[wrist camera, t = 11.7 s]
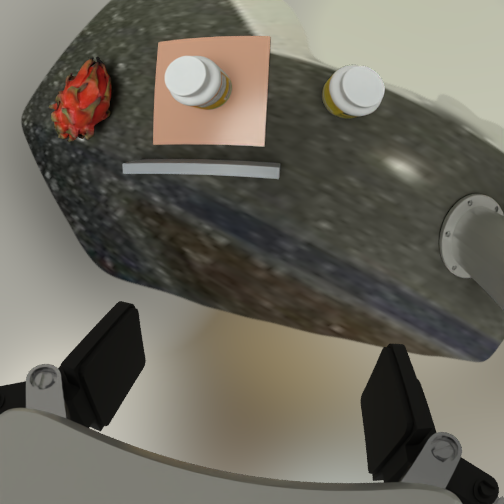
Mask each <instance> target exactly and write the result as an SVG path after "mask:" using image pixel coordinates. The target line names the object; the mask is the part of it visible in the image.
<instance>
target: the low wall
mask: <svg viewBox="0 0 504 504" xmlns="http://www.w3.org/2000/svg"><path fill="white" fill-rule="evenodd" d="M123 174H201V175H225V176H244V177H259V178H273V179H279V175H280V163H271V162H257V161H239V160H214V159H140V160H136V161H132V162H128V163H124V164H123Z"/></svg>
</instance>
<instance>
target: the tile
mask: <svg viewBox="0 0 504 504" xmlns="http://www.w3.org/2000/svg"><path fill="white" fill-rule="evenodd" d="M182 56H203V57H206V58H208V59H210V60H212V61H213V62H214V63H215V64H217V65H218V66H219V67H220V68H221V69H222V70H223V71H224V72H225V73H226V74H227V75H228V76H229V78H230V80H231V83H232V92H231V95H230V97H229V99H228V100H227V101H226V103H224V104H223V105H222V106H220V107H218V108H216V109H212V110H204V109H199V108H195V107H191V106H187V105H184V104H181V103H179V102H178V101H177V100H175V99H174V98H173V96H172V95H171V93H170V91H169V89H168V88H167V87H166V84H165V72H166V69H167V68H168V66H169V65H170V63H171V62H173V61H174V60H175V59H177V58H179V57H182ZM269 57H270V37H269V36H223V37H204V38H191V39H181V40H172V41H164V42H159V44H158V55H157V67H156V82H155V100H154V130H153V145H163V144H215V145H244V146H263V147H265V131H266V113H267V95H268V76H269Z"/></svg>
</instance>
